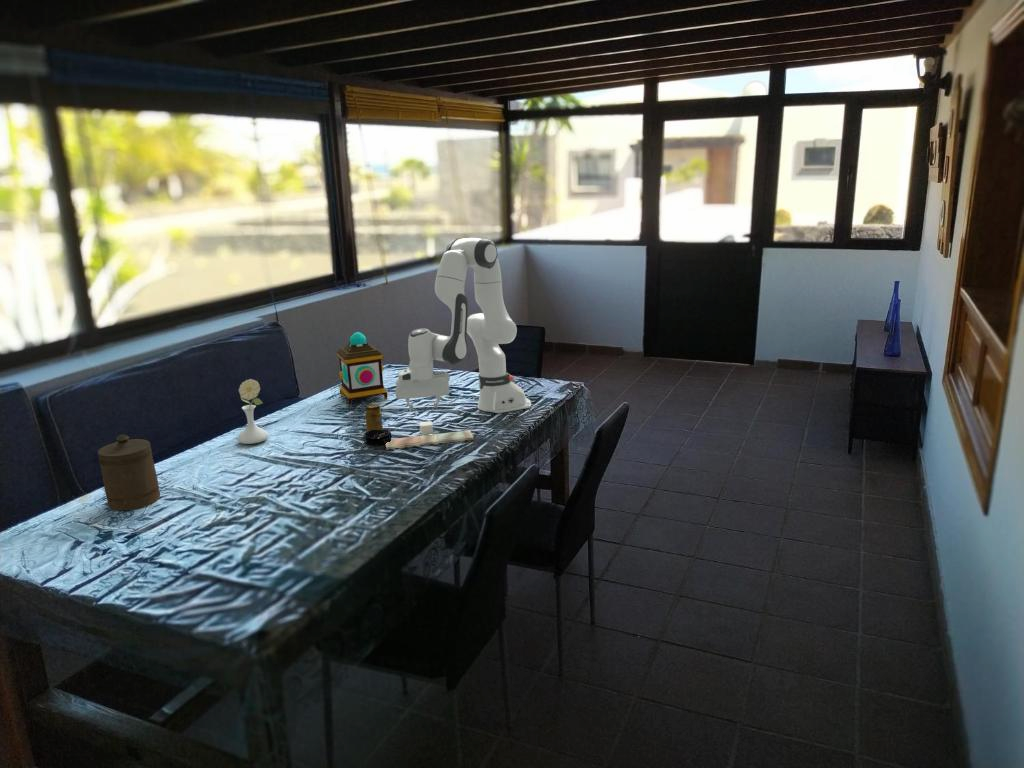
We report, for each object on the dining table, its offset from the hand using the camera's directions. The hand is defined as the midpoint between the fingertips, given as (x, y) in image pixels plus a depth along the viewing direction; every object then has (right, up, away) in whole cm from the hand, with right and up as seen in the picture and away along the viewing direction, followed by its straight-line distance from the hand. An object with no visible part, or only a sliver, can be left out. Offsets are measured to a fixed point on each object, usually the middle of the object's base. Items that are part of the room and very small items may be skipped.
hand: (423, 408), depth 280 cm
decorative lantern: (-33, +3, +51) cm, 60 cm away
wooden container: (-86, -28, -46) cm, 101 cm away
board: (+3, -12, -5) cm, 13 cm away
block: (+1, -10, +3) cm, 10 cm away
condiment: (-18, -11, +2) cm, 22 cm away
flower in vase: (-64, -13, +2) cm, 66 cm away
